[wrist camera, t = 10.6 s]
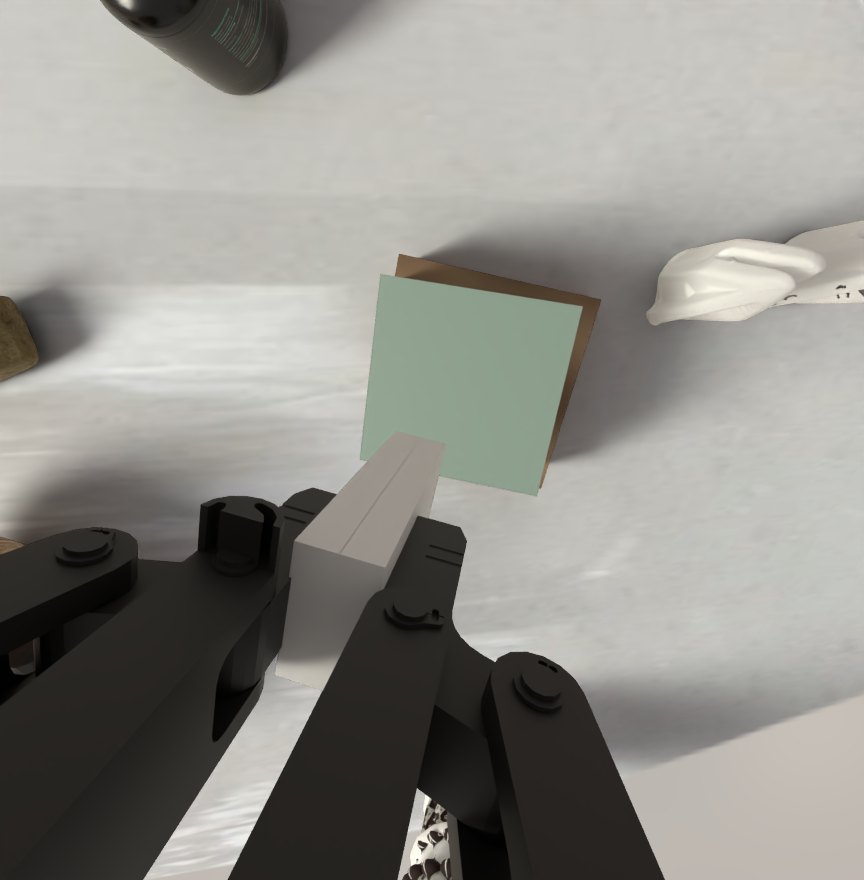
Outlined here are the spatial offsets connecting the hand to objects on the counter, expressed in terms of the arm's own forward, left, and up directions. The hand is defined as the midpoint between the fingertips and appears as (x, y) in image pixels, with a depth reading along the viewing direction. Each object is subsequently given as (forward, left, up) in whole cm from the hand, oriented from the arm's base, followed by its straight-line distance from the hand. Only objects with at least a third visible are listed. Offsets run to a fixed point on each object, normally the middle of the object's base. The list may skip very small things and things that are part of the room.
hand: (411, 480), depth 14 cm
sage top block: (-1, 0, -17) cm, 17 cm away
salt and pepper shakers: (-10, +15, -22) cm, 28 cm away
